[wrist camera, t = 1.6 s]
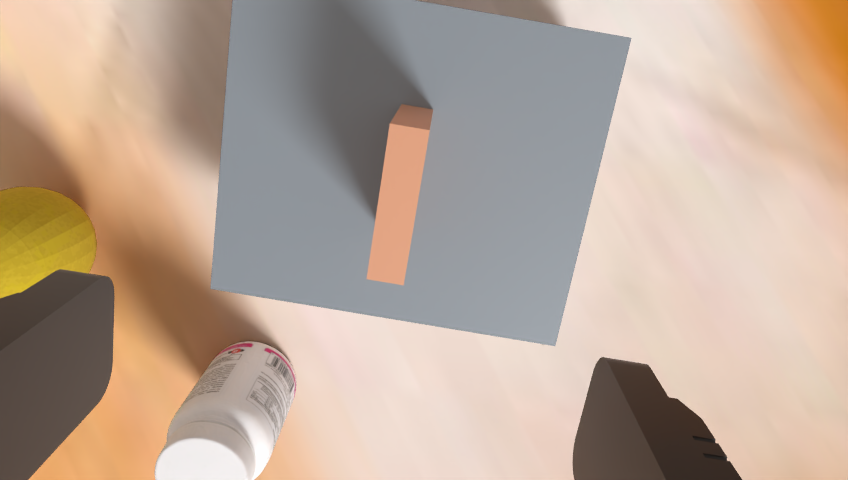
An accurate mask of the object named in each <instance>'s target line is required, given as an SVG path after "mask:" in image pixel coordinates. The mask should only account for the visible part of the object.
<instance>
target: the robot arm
mask: <svg viewBox="0 0 848 480" xmlns="http://www.w3.org/2000/svg"><path fill="white" fill-rule="evenodd" d="M113 327H114V286H113V283H112V280H111V279H110V278H109V277H107V276H101V275H95V274H88V273H82V272H76V271H70V270H63V269H59V270H56V271H55V272H53V273H51V274H50V275H48V276H47V277H45V278H43V279H42V280H40V281H39V282H37V283H35V284H34V285H32V286H31V287H29V288H27V289H26V290H24V291H23V292H21V293H16V294H12V295H9V296H6V297H3V298H0V480H28V479H29V478H30V477H31V476H32V475H33V474H34V473H35V472H36V470H37V469H38V468H39V467H40V466H41V465H42V464H43V463H44V462H45V461H46V460H47V458H48V457H49V456H50V455H51V454H52V453H53V452H54V451H55V450H56V449H57V448H58V446H59V445H60V444H61V443H62V442H63V441H64V440H65V439H66V438H67V437H68V436H69V435H70V433H71V432H72V431H73V430H74V429H75V428H76V427H77V426H78V425H79V424H80V423H81V421H82V420H83V419H84V418H85V417H86V416H87V415H88V414H89V413H90V412H91V411H92V409H93V408H94V407H95V406H96V405H97V404H98V403H99V402H100V400H101V399H102V397H103V395H104V393H105V391H106V389H107V386H108V383H109V380H110V376H111V372H112V363H113ZM573 474H574V479H575V480H742V479H741V477H740V476H739V474H738V473H737V471H736V470H735V468H734V467H733V465H732V464H731V462H730V461H727V456H726V455H725V453H724V452H723V450H722V449H721V447H720V446H719V444H717V443H715V438H714V437H713V435H712V434H711V432H710V431H709V429H708V428H707V426H706V425H705V423H704V422H703V420H702V419H701V418H700V417H699V416H698V415H696V414H695V413H694V412H693V411H692V410H690V409H689V408H688V407H687V406H685V405H684V404H683V403H682V402H680V401H679V400H678V399H675V398H669V397H668V396H667V394H666V392H665V391H664V389H663V388H662V386H661V384H660V383H659V381H658V379H657V378H656V376H655V375H654V373H653V371H652V370H651V368H650V367H649V366H648V365H647V364H641V363H635V362H629V361H623V360H617V359H610V358H604V357H602V358H600V359H599V360H598V362H597V364H596V366H595V368H594V371H593V375H592V378H591V382H590V386H589V390H588V393H587V397H586V401H585V405H584V408H583V412H582V416H581V420H580V423H579V427H578V431H577V434H576V438H575V443H574V450H573Z"/></svg>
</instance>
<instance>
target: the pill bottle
mask: <svg viewBox="0 0 848 480" xmlns="http://www.w3.org/2000/svg"><path fill="white" fill-rule="evenodd" d="M295 392H296V376H295V372H294V369H293V367H292V365H291V364H290V362H289V361H288V359H287V358H286V357H285V356H284V355H283V354H282V353H281V352H279V351H278V350H277V349H275V348H273V347H271V346H269V345H266V344H263V343H260V342H253V341H247V342H239V343H236V344H233V345H230V346H228V347H226V348H225V349H223V350H222V351H221V352H220V353H219V354H218V355H217V356H216V357H215V358H214V359H213V360H212V362H211V363H210V365H209V366H208V368H207V369H206V370H205V372H204V373H203V375H202V376H201V378H200V379H199V380H198V382H197V384H196V385H195V386H194V388H193V389H192V391H191V392H190V394H189V395H188V397H187V398H186V400H185V401H184V402H183V404H182V405H181V407H180V408H179V410H178V411H177V413H176V414H175V416H174V418H173V420H172V421H171V424H170V426H169V429H168V433H167V442H166V444H165V446H164V448H163V450H162V451H161V453H160V455H159V457H158V459H157V461H156V465H155V480H254V479H255V478H256V477H257V476H258V475H259V474H260V473H261V472H262V471H263V469H264V468H265V466H266V464H267V462H268V460H269V459H270V456H271V454H272V451H273V449H274V446H275V444H276V441H277V439H278V436H279V434H280V431H281V429H282V426H283V424H284V421H285V419H286V417H287V414H288V412H289V409H290V407H291V404H292V402H293V399H294V396H295Z"/></svg>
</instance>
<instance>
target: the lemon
mask: <svg viewBox="0 0 848 480" xmlns="http://www.w3.org/2000/svg"><path fill="white" fill-rule="evenodd" d="M96 247H97V240H96V235H95V229H94V227H93V225H92V223H91V221H90V218H89V217H88V216H87V214H86V213H85V212H84V210H83V209H82V208H81V207H80V206H79V205H77V204H76V203H75V202H74V201H73V200H71V199H70V198H68V197H66V196H64V195H62V194H60V193H59V192H55V191H52V190H48V189H44V188H39V187H15V188H10V189H5V190H1V191H0V298H3V297H6V296H9V295H12V294H16V293H21V292H23V291H24V290H26V289H27V288H29V287H31V286H32V285H34V284H35V283H37V282H39V281H40V280H42V279H43V278H45V277H47V276H48V275H50V274H51V273H53V272H55V271H56V270H59V269H63V270H70V271H76V272H82V273H88V274H89V272H90V270H91V268H92V265H93V262H94V260H95V257H96Z"/></svg>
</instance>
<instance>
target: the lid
mask: <svg viewBox="0 0 848 480" xmlns="http://www.w3.org/2000/svg"><path fill="white" fill-rule="evenodd" d="M630 42H631V38H629V37H623V36H617V35H611V34H606V33H600V32H594V31H589V30H583V29H577V28H571V27H566V26H560V25H554V24H548V23H543V22H537V21H531V20H526V19H520V18H514V17H508V16H503V15H497V14H491V13H485V12H480V11H474V10H468V9H462V8H457V7H451V6H445V5H440V4H434V3H428V2H422V1H417V0H232V13H231V26H230V39H229V53H228V66H227V79H226V92H225V105H224V118H223V131H222V145H221V158H220V171H219V184H218V197H217V210H216V223H215V237H214V250H213V263H212V276H211V289H215V290H221V291H227V292H233V293H239V294H245V295H251V296H257V297H263V298H269V299H275V300H281V301H287V302H293V303H299V304H305V305H311V306H317V307H323V308H329V309H335V310H341V311H347V312H353V313H359V314H365V315H371V316H377V317H383V318H389V319H395V320H401V321H407V322H413V323H419V324H425V325H431V326H437V327H443V328H449V329H455V330H461V331H467V332H473V333H479V334H485V335H492V336H498V337H504V338H510V339H516V340H522V341H528V342H534V343H540V344H546V345H552V346H555V345H556V341H557V337H558V333H559V329H560V325H561V321H562V316H563V312H564V308H565V304H566V300H567V296H568V292H569V288H570V284H571V280H572V276H573V272H574V268H575V264H576V260H577V256H578V252H579V248H580V244H581V240H582V236H583V232H584V228H585V223H586V219H587V215H588V211H589V207H590V203H591V199H592V195H593V191H594V187H595V183H596V179H597V175H598V171H599V167H600V163H601V159H602V155H603V151H604V147H605V143H606V139H607V135H608V130H609V126H610V122H611V118H612V114H613V110H614V106H615V102H616V98H617V94H618V90H619V86H620V82H621V78H622V74H623V70H624V66H625V62H626V58H627V54H628V50H629V46H630Z"/></svg>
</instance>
